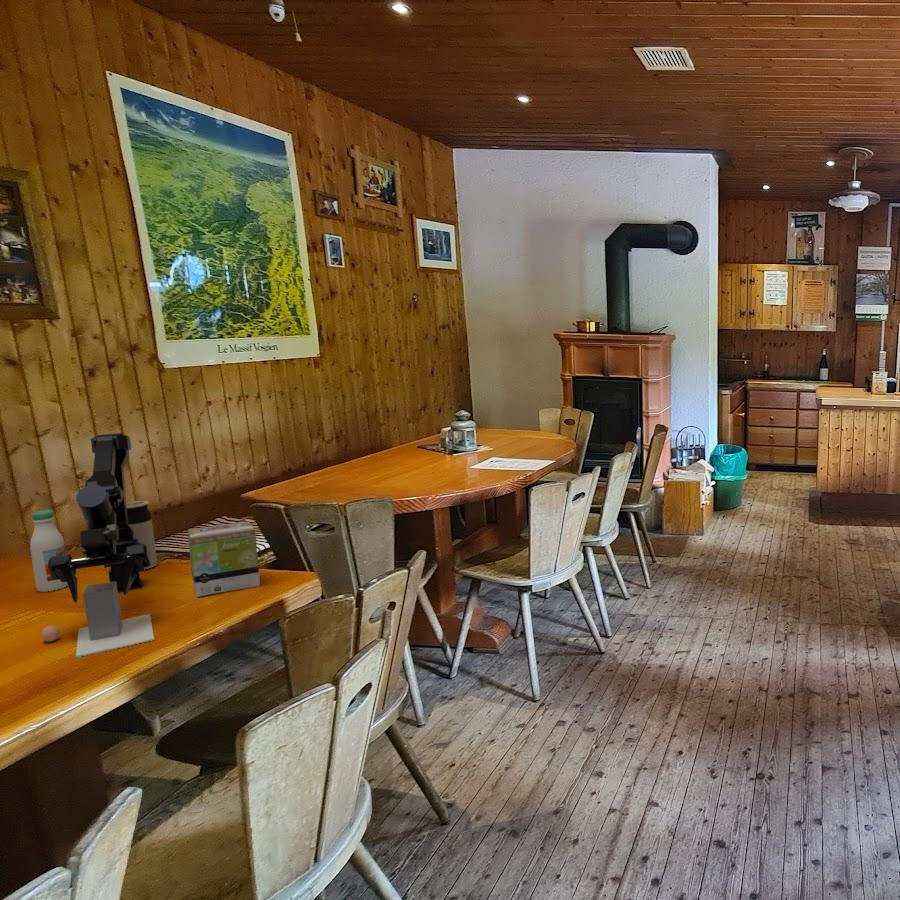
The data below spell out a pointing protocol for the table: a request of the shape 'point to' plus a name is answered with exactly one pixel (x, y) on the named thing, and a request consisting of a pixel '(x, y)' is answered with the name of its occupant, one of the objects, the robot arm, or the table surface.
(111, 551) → the robot arm
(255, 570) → the tea box
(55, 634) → the ball
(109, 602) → the tin
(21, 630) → the table surface
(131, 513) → the travel mug
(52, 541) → the milk bottle
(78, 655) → the mat
